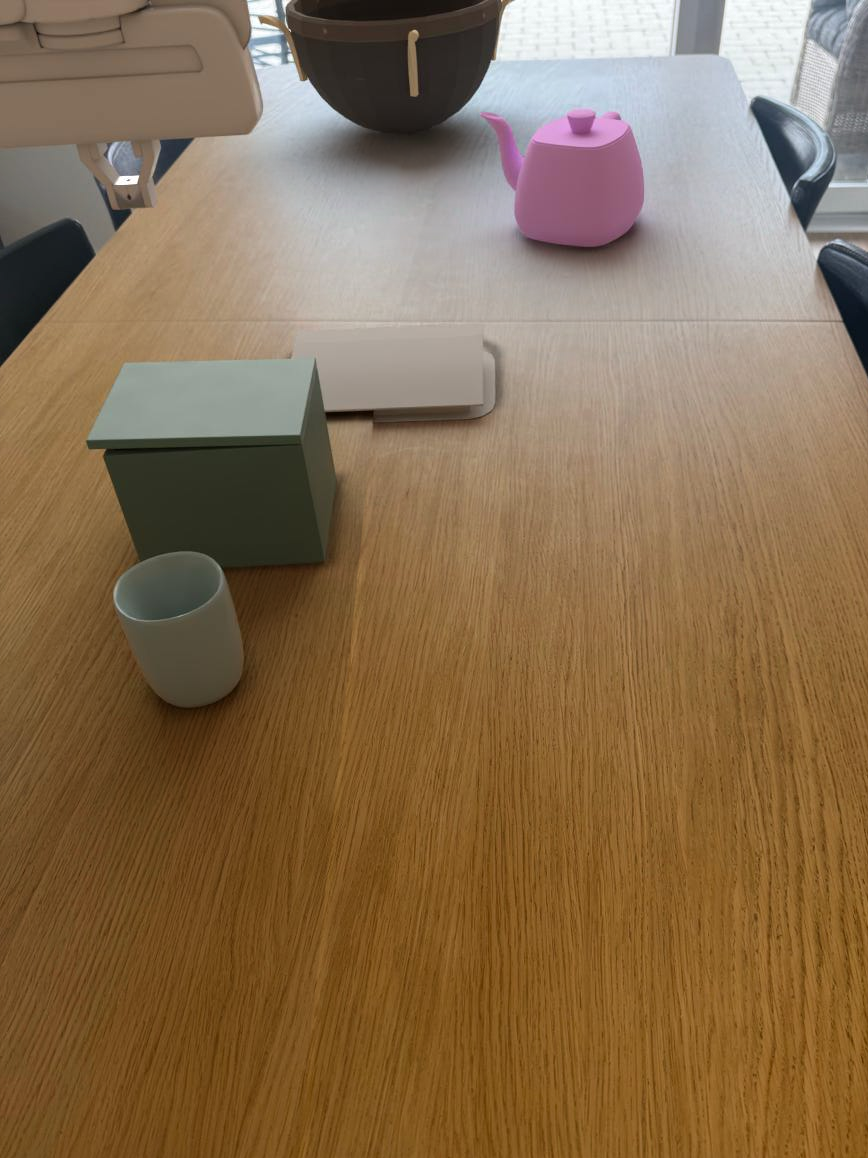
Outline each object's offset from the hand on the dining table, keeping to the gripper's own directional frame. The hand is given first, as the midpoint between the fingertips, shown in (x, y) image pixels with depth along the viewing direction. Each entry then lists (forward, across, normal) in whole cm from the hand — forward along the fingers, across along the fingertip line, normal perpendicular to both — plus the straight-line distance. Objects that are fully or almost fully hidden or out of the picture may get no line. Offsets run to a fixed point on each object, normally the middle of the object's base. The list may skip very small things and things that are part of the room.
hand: (135, 206), depth 71 cm
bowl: (+29, -13, -116) cm, 120 cm away
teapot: (+29, -38, -66) cm, 81 cm away
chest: (+29, -2, 0) cm, 29 cm away
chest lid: (+16, -2, 0) cm, 16 cm away
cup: (+29, -2, +20) cm, 35 cm away
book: (+29, -14, -25) cm, 41 cm away
